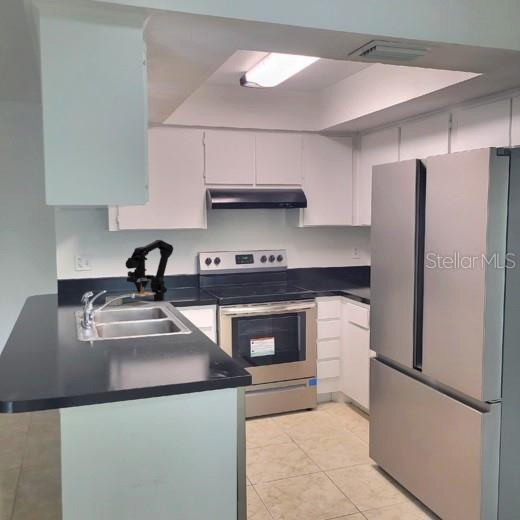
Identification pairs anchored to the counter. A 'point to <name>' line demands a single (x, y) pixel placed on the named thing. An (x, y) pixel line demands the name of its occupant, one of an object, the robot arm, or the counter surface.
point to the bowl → (117, 302)
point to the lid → (142, 293)
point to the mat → (140, 304)
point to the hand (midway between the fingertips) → (140, 291)
